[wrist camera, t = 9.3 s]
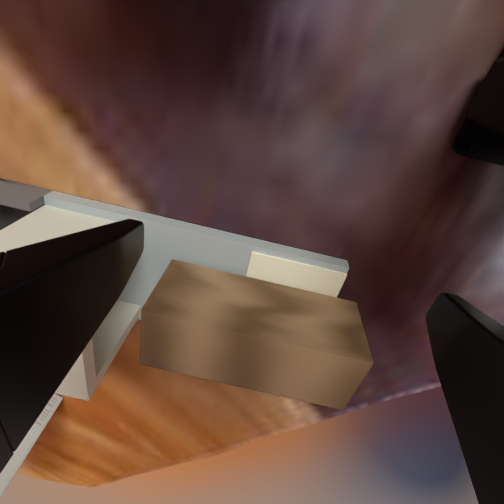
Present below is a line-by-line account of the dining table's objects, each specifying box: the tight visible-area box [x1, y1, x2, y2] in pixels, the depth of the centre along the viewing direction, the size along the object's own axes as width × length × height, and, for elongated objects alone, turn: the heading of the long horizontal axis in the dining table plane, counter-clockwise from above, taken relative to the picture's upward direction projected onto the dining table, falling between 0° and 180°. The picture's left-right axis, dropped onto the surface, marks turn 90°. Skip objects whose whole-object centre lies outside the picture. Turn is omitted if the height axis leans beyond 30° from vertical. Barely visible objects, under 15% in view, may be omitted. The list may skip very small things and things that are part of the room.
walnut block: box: [140, 259, 374, 410], centre depth 22 cm, size 14×5×6 cm, turn 78°
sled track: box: [0, 178, 349, 401], centre depth 21 cm, size 27×10×9 cm, turn 78°
